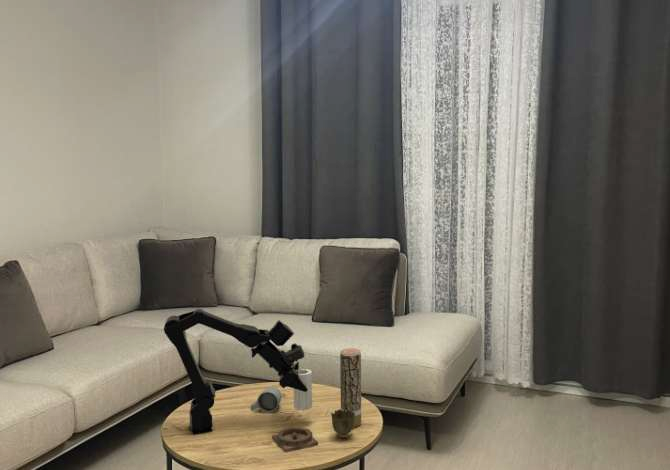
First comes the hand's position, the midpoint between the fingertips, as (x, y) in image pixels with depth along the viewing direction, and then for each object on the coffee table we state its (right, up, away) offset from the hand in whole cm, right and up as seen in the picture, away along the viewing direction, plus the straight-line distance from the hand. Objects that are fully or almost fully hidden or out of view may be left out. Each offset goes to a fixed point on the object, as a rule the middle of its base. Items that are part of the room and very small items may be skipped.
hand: (306, 387), depth 225 cm
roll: (-1, -7, +1) cm, 7 cm away
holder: (-3, -14, -13) cm, 19 cm away
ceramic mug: (-15, -11, +15) cm, 24 cm away
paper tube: (+15, -13, 0) cm, 19 cm away
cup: (+12, -14, -10) cm, 21 cm away
